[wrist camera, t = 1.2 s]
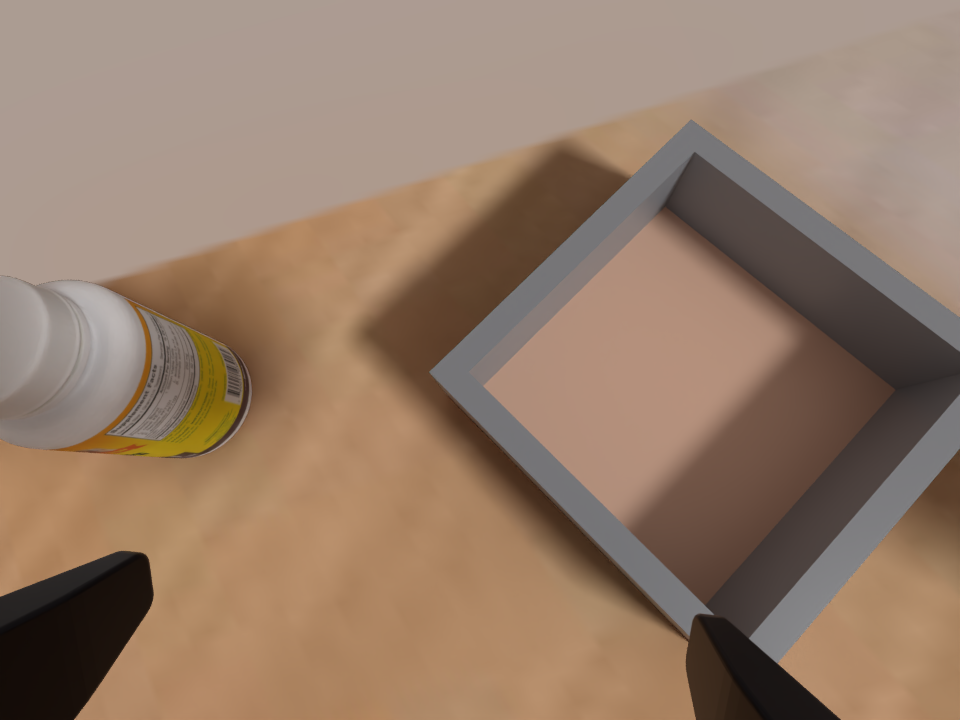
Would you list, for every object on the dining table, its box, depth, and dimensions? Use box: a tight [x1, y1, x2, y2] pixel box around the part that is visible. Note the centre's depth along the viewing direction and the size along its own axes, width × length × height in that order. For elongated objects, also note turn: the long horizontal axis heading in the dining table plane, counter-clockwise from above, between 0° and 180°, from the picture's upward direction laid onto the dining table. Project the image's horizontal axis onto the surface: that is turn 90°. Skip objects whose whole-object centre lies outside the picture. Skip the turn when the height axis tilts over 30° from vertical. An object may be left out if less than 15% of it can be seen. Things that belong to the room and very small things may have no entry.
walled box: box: [429, 120, 960, 663], centre depth 20 cm, size 14×14×5 cm
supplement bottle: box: [0, 276, 252, 458], centre depth 19 cm, size 6×6×10 cm
